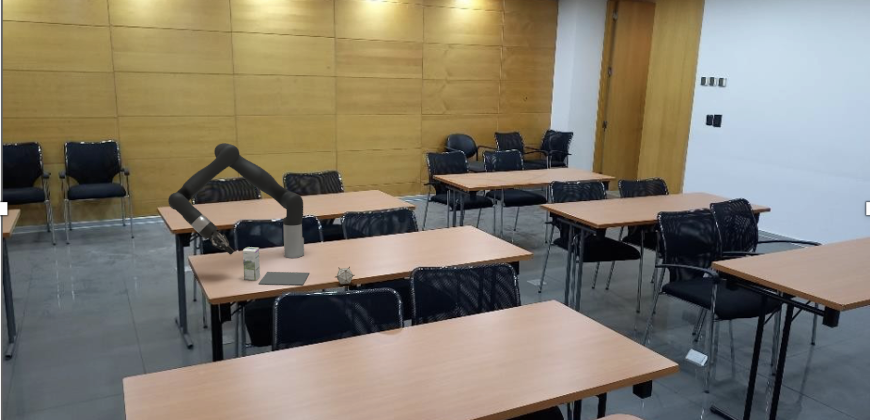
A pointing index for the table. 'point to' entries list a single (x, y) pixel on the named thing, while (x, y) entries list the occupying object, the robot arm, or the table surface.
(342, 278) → the spiked polyhedron ball
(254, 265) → the syrup box
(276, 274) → the mat
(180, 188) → the robot arm
